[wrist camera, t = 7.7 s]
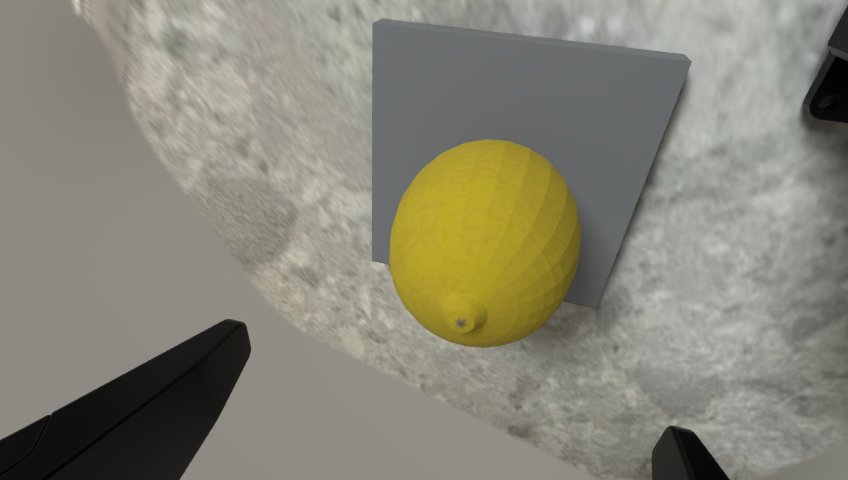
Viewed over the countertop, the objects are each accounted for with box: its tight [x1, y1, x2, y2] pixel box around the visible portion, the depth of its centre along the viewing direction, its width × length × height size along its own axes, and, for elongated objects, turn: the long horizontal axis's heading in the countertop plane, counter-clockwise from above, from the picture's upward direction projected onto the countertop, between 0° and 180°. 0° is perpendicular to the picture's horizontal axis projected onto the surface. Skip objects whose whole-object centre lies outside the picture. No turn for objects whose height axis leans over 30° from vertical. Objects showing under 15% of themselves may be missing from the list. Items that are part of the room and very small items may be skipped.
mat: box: [372, 19, 692, 308], centre depth 17 cm, size 10×10×1 cm
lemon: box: [389, 139, 581, 348], centre depth 14 cm, size 6×6×8 cm
